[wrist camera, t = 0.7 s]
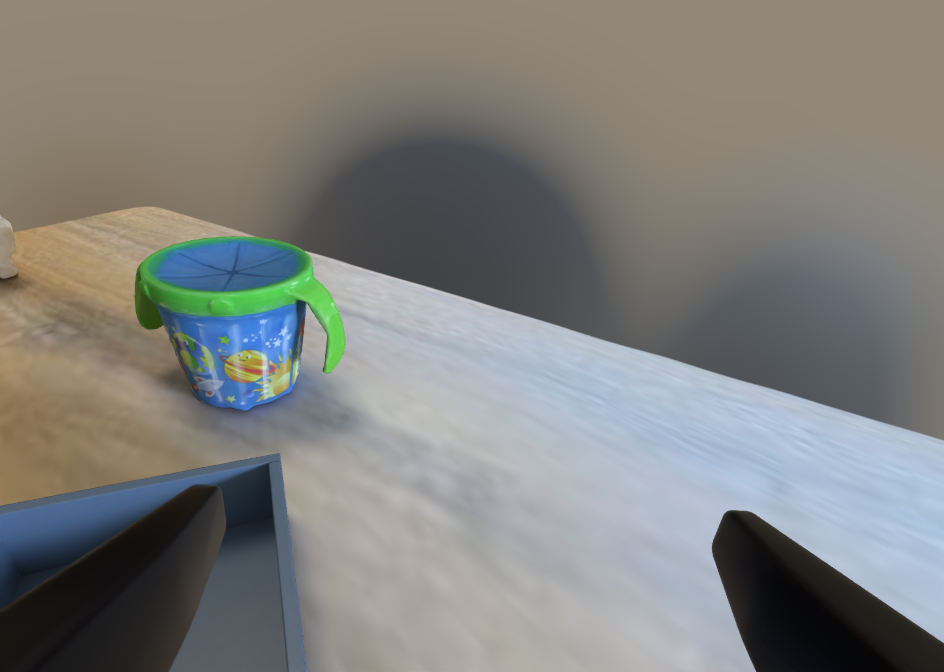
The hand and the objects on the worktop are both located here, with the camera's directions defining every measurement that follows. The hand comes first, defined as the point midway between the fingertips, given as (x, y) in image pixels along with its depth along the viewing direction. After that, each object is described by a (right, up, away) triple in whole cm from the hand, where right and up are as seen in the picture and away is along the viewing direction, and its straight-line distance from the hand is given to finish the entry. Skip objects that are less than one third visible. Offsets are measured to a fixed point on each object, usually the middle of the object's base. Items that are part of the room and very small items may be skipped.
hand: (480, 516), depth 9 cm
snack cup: (-17, -1, +29) cm, 34 cm away
